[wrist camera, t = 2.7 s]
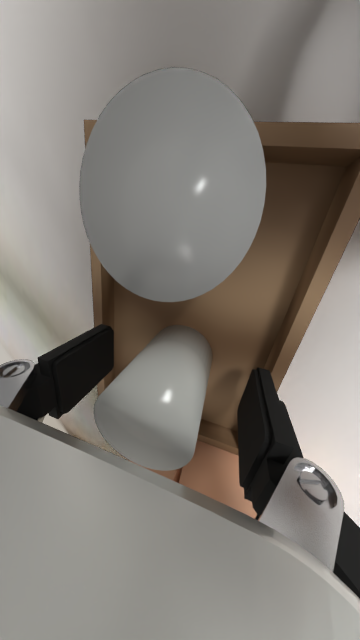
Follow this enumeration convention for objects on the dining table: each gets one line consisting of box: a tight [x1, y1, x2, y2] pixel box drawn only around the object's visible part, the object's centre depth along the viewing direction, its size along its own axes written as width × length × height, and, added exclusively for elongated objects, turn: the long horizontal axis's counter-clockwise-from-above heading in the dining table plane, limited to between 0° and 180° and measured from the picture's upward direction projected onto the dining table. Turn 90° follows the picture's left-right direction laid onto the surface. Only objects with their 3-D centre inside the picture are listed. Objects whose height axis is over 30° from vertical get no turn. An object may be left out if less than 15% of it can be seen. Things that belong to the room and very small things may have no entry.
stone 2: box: [94, 325, 213, 471], centre depth 9 cm, size 4×4×6 cm
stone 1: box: [80, 67, 266, 302], centre depth 6 cm, size 4×4×6 cm
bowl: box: [128, 440, 257, 518], centre depth 14 cm, size 14×14×4 cm
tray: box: [84, 120, 360, 456], centre depth 10 cm, size 16×11×2 cm
